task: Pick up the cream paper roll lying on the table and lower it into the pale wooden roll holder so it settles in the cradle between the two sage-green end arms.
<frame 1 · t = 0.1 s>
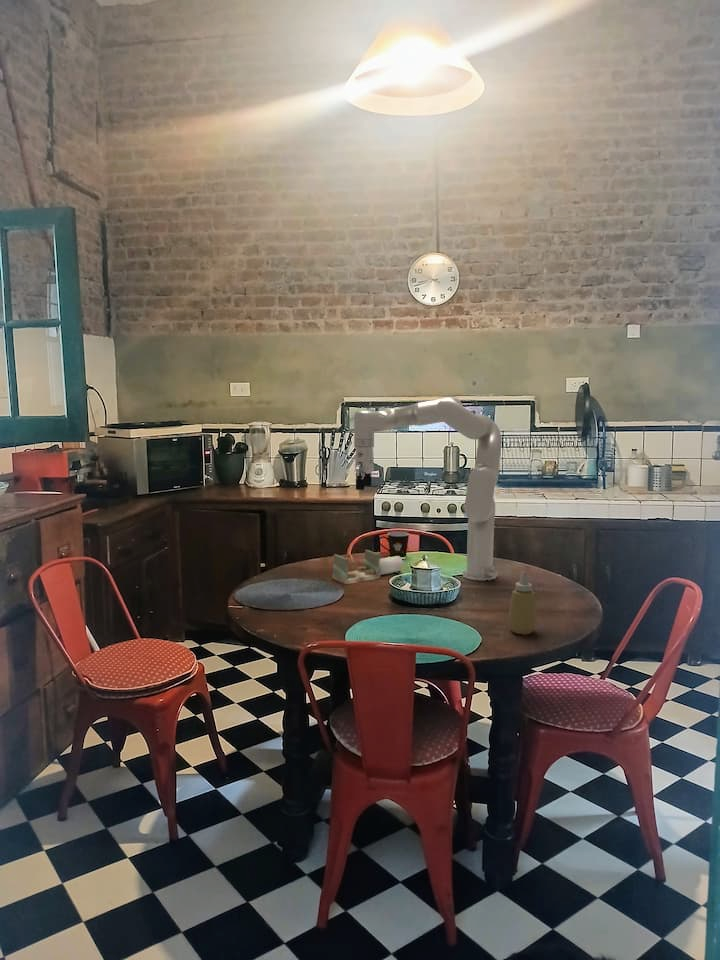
hand: (363, 487, 283), 31 cm above the table, tool pointing down, fingers open, 9 cm apart
coffee mug: (394, 557, 303), on the table
squeeze bottle: (522, 632, 217), on the table
roll holder: (356, 578, 272), on the table
paper roll: (387, 573, 279), on the table
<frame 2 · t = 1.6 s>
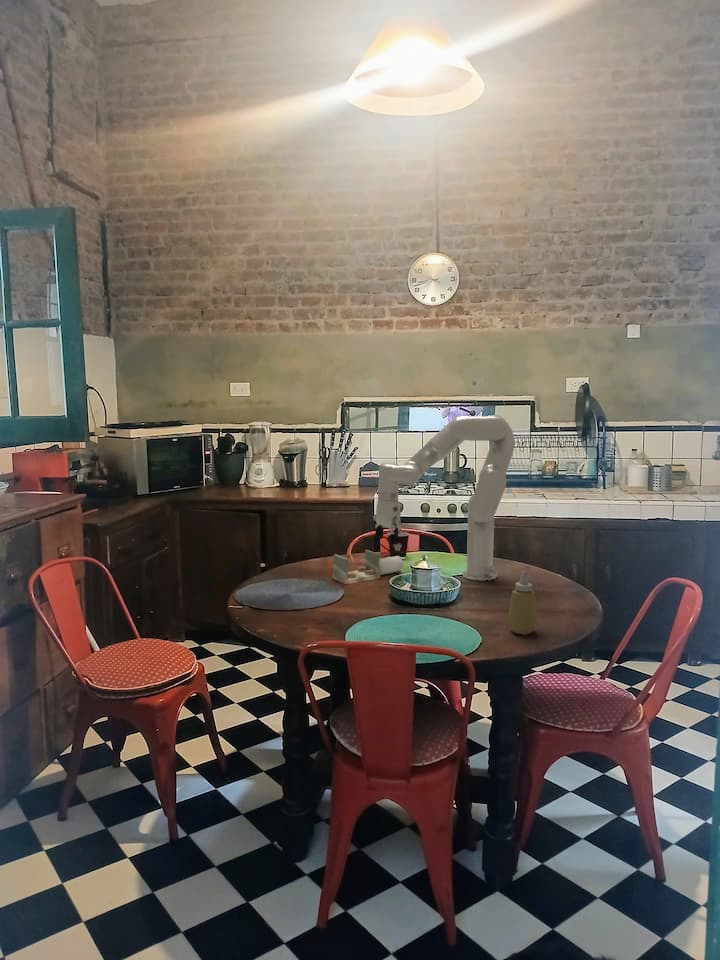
hand: (386, 541, 277), 12 cm above the table, tool pointing down, fingers open, 9 cm apart
nothing on the table moved.
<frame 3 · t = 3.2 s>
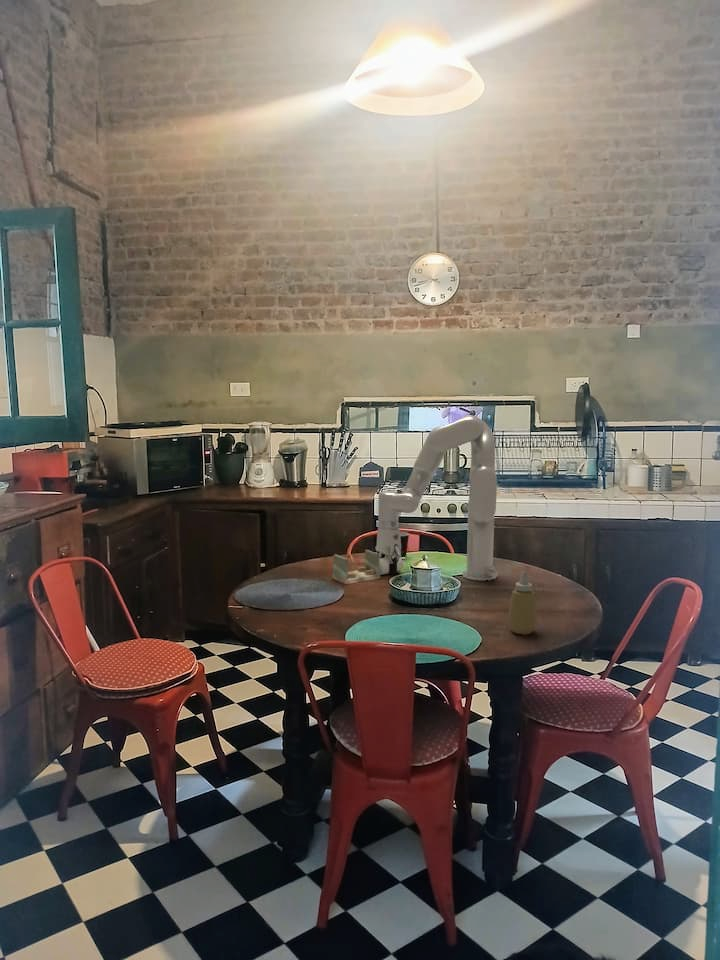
hand: (387, 570, 279), 1 cm above the table, tool pointing down, fingers closed on paper roll, 6 cm apart
paper roll: (387, 573, 279), on the table, touching gripper
everything else where it was.
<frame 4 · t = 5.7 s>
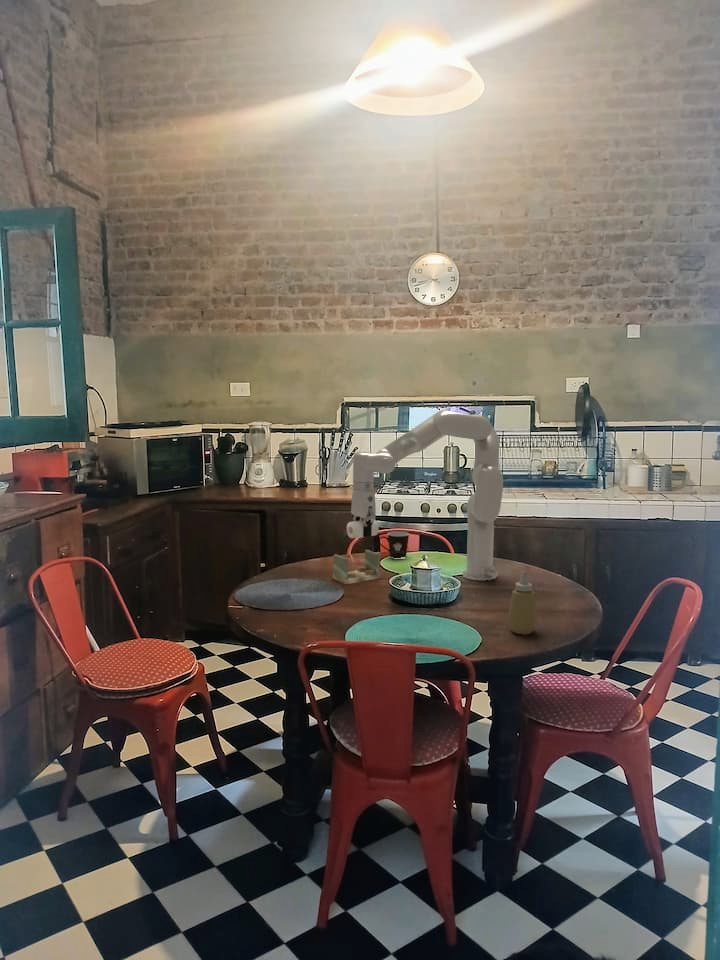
hand: (362, 534, 271), 16 cm above the table, tool pointing down, fingers closed on paper roll, 6 cm apart
paper roll: (362, 536, 271), point 15 cm above the table, touching gripper
everything else where it was.
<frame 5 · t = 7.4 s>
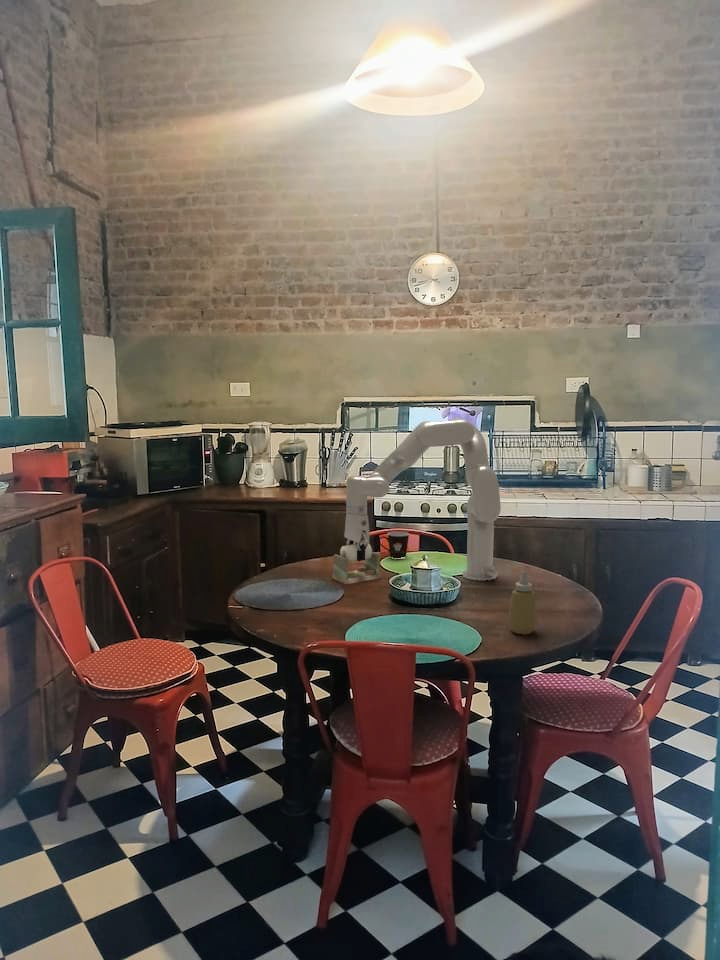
hand: (356, 558, 270), 8 cm above the table, tool pointing down, fingers closed on paper roll, 6 cm apart
paper roll: (356, 560, 271), point 7 cm above the table, touching gripper
everything else where it was.
when the fingers open (5 cm above the table, at t = 8.4 s): paper roll drops 2 cm, resting on roll holder.
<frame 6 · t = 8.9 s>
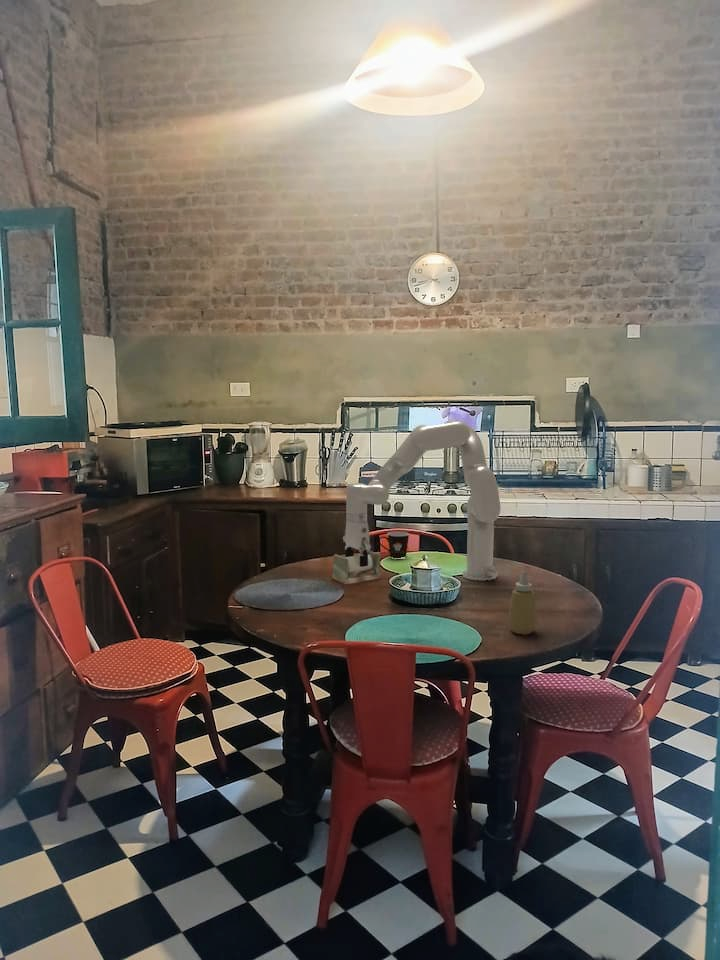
hand: (356, 563, 271), 6 cm above the table, tool pointing down, fingers open, 9 cm apart
paper roll: (356, 571, 271), point 2 cm above the table, touching roll holder
everything else where it was.
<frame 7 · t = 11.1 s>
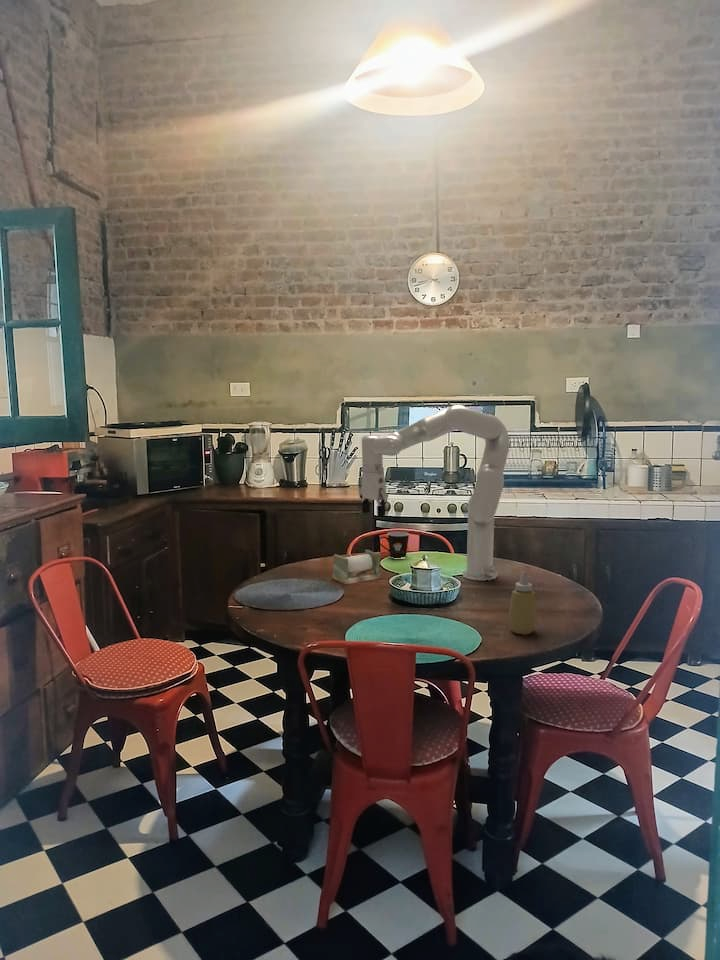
hand: (373, 514, 276), 22 cm above the table, tool pointing down, fingers open, 9 cm apart
nothing on the table moved.
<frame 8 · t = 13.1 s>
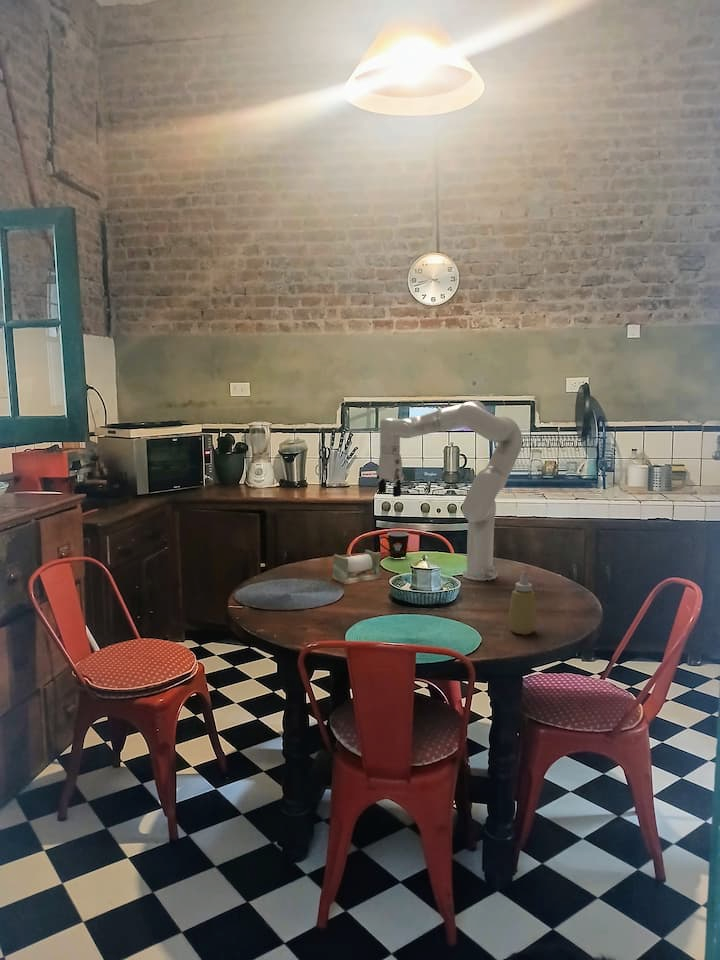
hand: (389, 494, 285), 28 cm above the table, tool pointing down, fingers open, 9 cm apart
nothing on the table moved.
at the end: paper roll 0.1 cm off-centre on the roll holder, point 2.5 cm above the roll holder's base; paper roll touching roll holder; the gripper is holding nothing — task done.
